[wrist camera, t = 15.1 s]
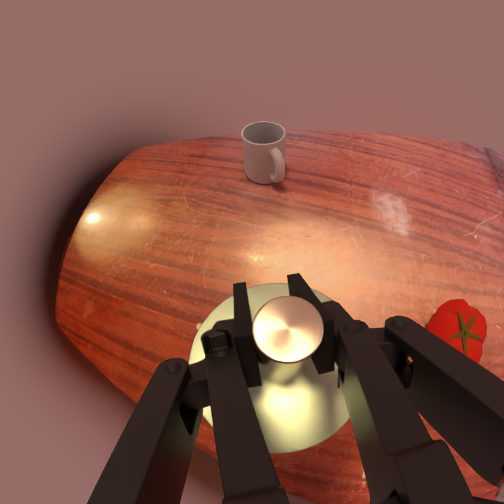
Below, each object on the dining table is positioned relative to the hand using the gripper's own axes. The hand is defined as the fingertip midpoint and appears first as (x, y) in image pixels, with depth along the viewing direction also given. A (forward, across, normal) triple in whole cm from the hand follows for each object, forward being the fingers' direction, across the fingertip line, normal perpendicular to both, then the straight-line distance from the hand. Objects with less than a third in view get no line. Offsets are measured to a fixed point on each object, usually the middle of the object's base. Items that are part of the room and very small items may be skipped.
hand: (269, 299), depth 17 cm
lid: (-1, 0, -5) cm, 5 cm away
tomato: (+10, +25, -17) cm, 32 cm away
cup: (+35, +6, +8) cm, 37 cm away
